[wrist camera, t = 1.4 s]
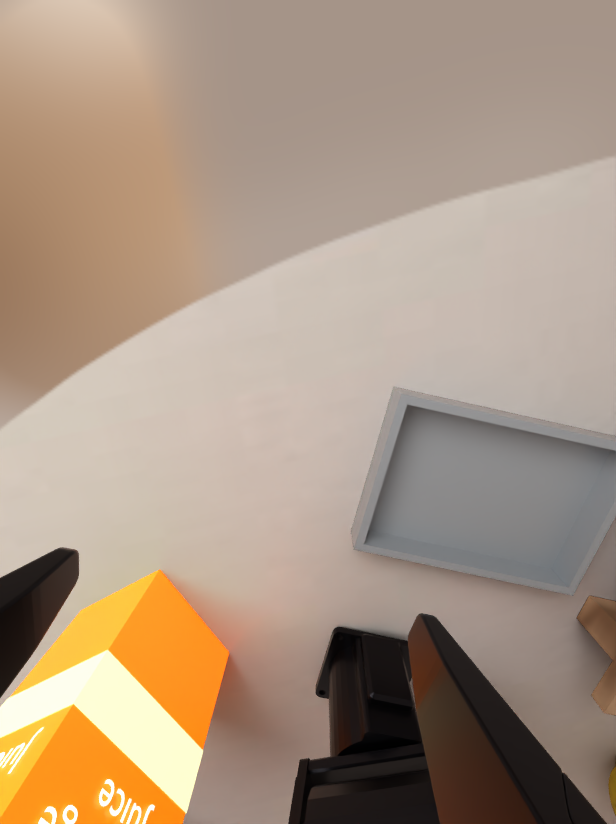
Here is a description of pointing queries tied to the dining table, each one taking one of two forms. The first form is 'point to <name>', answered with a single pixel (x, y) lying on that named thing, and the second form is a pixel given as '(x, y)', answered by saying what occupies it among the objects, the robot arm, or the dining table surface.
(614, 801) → the lemon
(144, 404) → the dining table surface
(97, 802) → the orange juice
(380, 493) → the grey open tray
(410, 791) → the robot arm
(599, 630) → the bridge
